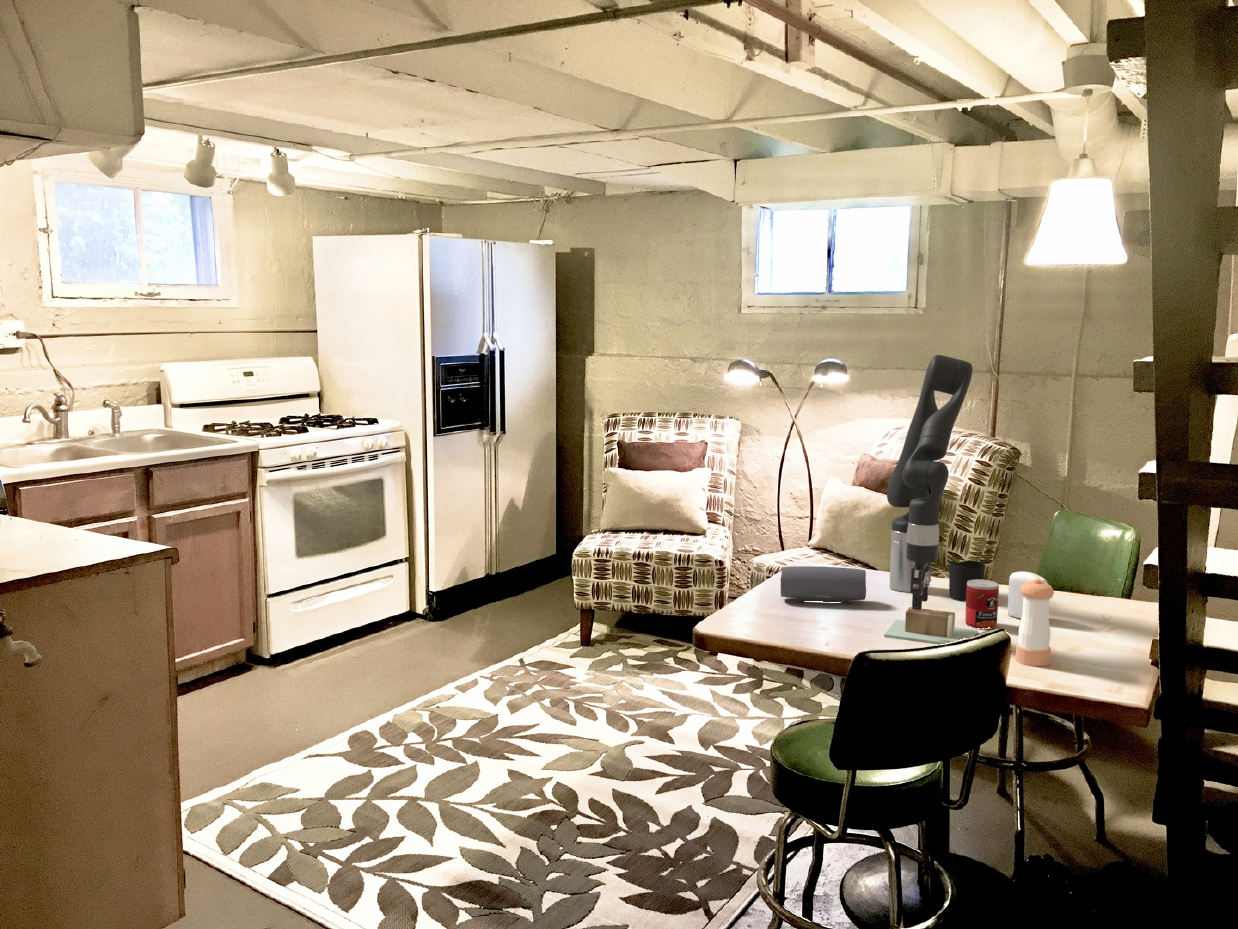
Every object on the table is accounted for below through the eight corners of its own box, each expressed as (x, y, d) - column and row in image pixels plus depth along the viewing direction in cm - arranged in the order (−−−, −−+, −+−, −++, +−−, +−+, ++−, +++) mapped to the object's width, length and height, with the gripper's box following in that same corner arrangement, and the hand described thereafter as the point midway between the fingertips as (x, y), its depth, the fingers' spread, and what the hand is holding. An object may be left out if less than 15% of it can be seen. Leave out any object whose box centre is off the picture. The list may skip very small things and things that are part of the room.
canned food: (977, 630, 248) (979, 588, 246) (958, 621, 255) (960, 580, 254) (1003, 628, 250) (1005, 586, 248) (984, 619, 257) (986, 578, 256)
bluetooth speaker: (862, 599, 277) (863, 564, 275) (865, 608, 268) (867, 572, 266) (780, 596, 280) (781, 561, 278) (780, 605, 271) (781, 569, 269)
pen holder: (979, 604, 271) (981, 569, 270) (944, 599, 276) (946, 564, 275) (986, 596, 279) (987, 562, 278) (951, 592, 284) (953, 558, 283)
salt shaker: (1041, 655, 229) (1046, 575, 226) (1055, 666, 221) (1061, 583, 219) (1010, 656, 228) (1014, 575, 226) (1023, 666, 221) (1028, 583, 219)
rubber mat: (895, 621, 255) (895, 619, 255) (977, 632, 246) (977, 630, 246) (884, 636, 243) (884, 634, 243) (969, 648, 234) (969, 646, 234)
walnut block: (909, 607, 248) (955, 612, 244) (908, 626, 249) (954, 632, 244) (905, 612, 244) (952, 617, 239) (905, 631, 245) (951, 637, 240)
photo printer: (1004, 615, 261) (1007, 569, 259) (1015, 613, 263) (1018, 567, 261) (1037, 625, 252) (1040, 578, 250) (1048, 623, 254) (1051, 576, 253)
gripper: (933, 548, 235) (930, 614, 237) (943, 537, 247) (940, 600, 249) (901, 545, 238) (898, 610, 240) (912, 534, 250) (909, 596, 253)
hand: (919, 605), depth 245 cm, fingers open, 8 cm apart
